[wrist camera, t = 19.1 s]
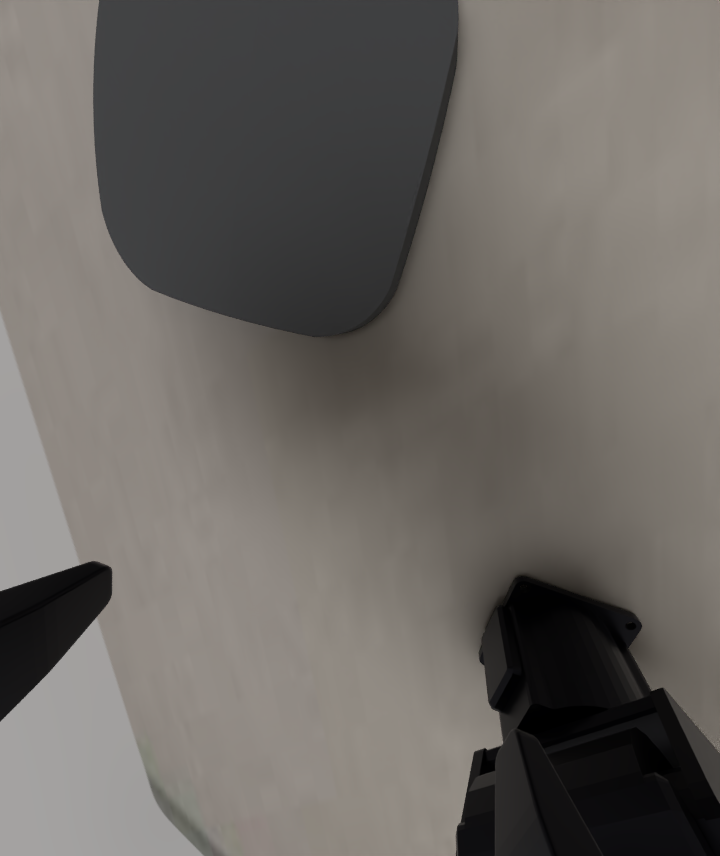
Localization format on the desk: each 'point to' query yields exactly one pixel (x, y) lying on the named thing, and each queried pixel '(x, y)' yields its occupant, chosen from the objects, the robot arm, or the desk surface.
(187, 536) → the desk surface
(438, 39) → the media streaming box
